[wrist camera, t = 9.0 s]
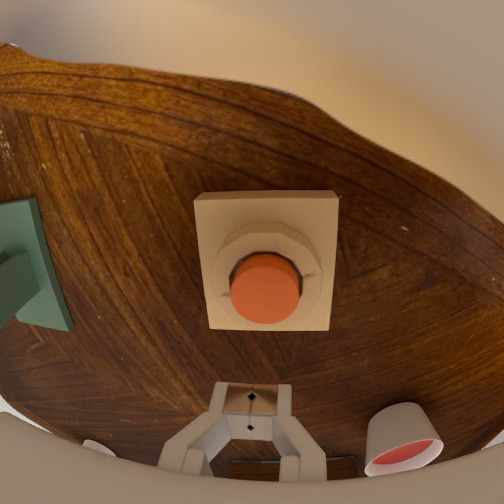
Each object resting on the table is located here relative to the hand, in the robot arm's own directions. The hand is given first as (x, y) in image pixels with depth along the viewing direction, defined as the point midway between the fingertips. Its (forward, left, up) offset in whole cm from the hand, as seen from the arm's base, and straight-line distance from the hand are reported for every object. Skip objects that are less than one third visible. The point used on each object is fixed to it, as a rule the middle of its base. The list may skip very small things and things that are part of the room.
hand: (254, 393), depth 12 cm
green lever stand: (+1, -25, -12) cm, 28 cm away
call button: (0, 0, -12) cm, 12 cm away
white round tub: (+21, +15, -13) cm, 28 cm away
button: (0, 0, -9) cm, 9 cm away
